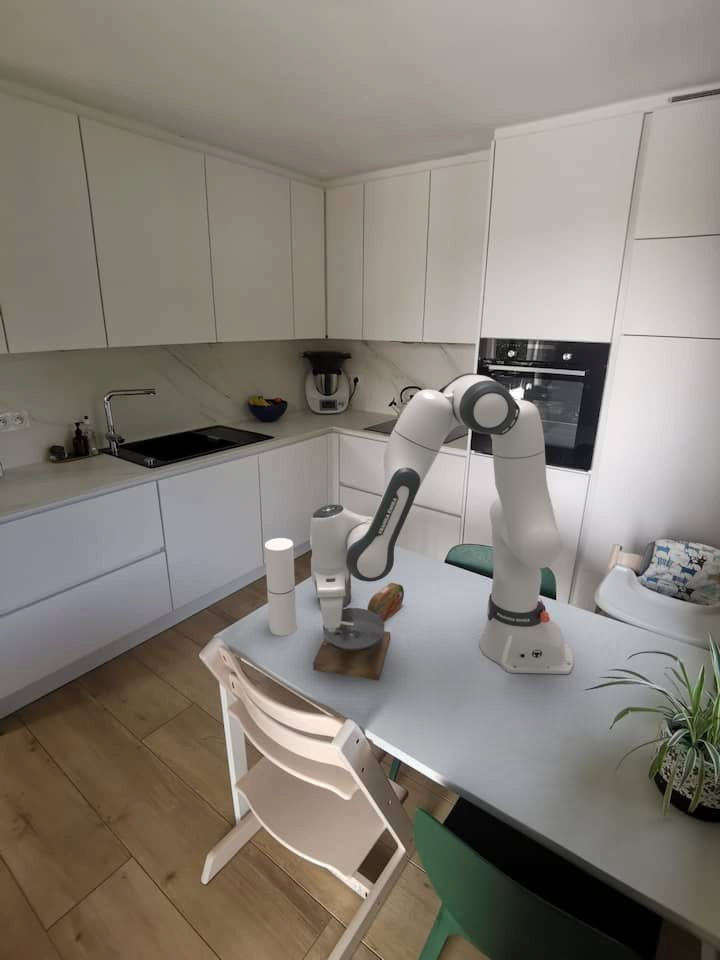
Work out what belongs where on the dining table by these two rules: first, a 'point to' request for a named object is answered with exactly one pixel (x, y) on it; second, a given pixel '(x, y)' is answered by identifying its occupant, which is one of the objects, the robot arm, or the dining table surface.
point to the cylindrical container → (280, 586)
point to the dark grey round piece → (356, 631)
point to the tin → (387, 601)
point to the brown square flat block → (353, 660)
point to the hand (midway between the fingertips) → (331, 621)
